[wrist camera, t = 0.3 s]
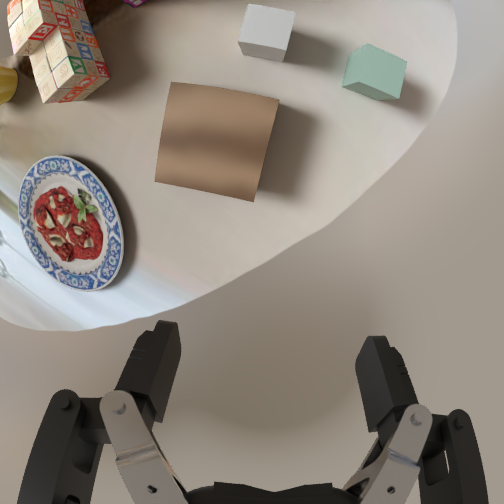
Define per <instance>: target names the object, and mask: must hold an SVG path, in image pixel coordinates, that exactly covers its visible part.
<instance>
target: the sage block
mask: <svg viewBox="0 0 504 504" xmlns="http://www.w3.org/2000/svg"><path fill="white" fill-rule="evenodd" d="M406 65H407V61H405V60H403V59H401V58H399V57H397V56H395V55H393V54H391V53H388V52H386V51H384V50H382V49H380V48H377V47H375V46H373V45H370V44H368V43H367V44H365V45H364V46H362V47H361V48H359V49H357V50H356V51H354V52H353V53H351V54H350V55H349V59H348V63H347V67H346V71H345V76H344V80H343V84H342V87H344V88H346V89H349V90H352V91H355V92H357V93H360V94H362V95H365V96H368V97H370V98H372V99H375V100H386V99H399V97H400V93H401V89H402V84H403V79H404V75H405V70H406Z"/></svg>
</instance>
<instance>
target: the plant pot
mask: <svg viewBox="0 0 504 504" xmlns="http://www.w3.org/2000/svg"><path fill="white" fill-rule="evenodd" d="M17 83H18V75H17V72H16V71H15V70H14V69H10V68H5V67H0V105H1V104H3V103H5V102H8V101H9V100H10V99H11V98H12V97H13V95H14V93H15V91H16V88H17Z"/></svg>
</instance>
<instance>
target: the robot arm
mask: <svg viewBox="0 0 504 504" xmlns="http://www.w3.org/2000/svg"><path fill="white" fill-rule="evenodd" d="M180 357H181V342H180V337H179V330H178V325H177V323H176V322H169V321H163V320H159V321H158V322H157V324H156V326H155V329H154V331H148V330H146V331H145V332H144V333H143V334H142V335H141V336H139V337H138V339H137V341H136V343H135V345H134V347H133V350H132V352H131V354H130V357H129V358H128V360H127V363H126V365H125V367H124V369H123V372H122V374H121V377H120V379H119V381H118V384H117V386H116V388H115V389H114V391H111V392H108V393H107V394H105V395H104V397H101V398H79V397H78V395H77V394H76V393H75V392H73V391H71V390H68V389H67V390H66V389H64V390H60V391H58V392H56V393H55V394H54V395H53V397H52V399H51V401H50V403H49V405H48V408H47V410H46V413H45V415H44V417H43V420H42V423H41V425H40V428H39V430H38V433H37V436H36V439H35V441H34V444H33V447H32V450H31V453H30V456H29V459H28V463H27V466H26V469H25V473H24V476H23V480H22V484H21V488H20V492H19V497H18V501H17V504H90V501H91V495H92V491H93V486H94V482H95V477H96V473H97V469H98V464H99V461H100V457H101V453H102V449H103V445H104V444H112V446H113V448H114V451H115V453H116V456H117V459H116V464H117V467H118V470H119V472H120V474H121V476H122V479H123V481H124V483H125V485H126V487H127V489H128V491H129V493H130V495H131V497H132V499H133V501H134V502H135V504H404V503H405V501H406V499H407V497H408V496H409V494H410V492H411V489H412V488H413V485H414V483H415V481H416V479H417V477H418V480H419V488H420V499H421V504H489V502H488V495H487V487H486V481H485V475H484V470H483V465H482V461H481V456H480V452H479V448H478V444H477V440H476V436H475V433H474V429H473V426H472V423H471V419H470V417H469V415H468V414H467V413H466V412H465V411H463V410H461V409H456V410H454V411H452V412H451V413H450V414H449V415H448V416H446V415H437V414H431V412H430V411H429V409H427V408H426V407H425V406H423V405H421V404H419V403H418V400H417V397H416V394H415V391H414V388H413V386H412V383H411V380H410V377H409V375H408V371H407V369H406V367H405V363H404V361H403V358H402V356H401V354H400V353H399V352H398V351H397V350H396V349H395V347H390V345H389V342H388V340H387V338H386V337H385V336H368V337H367V339H366V340H365V342H364V345H363V347H362V349H361V351H360V353H359V355H358V357H357V359H356V363H355V369H356V375H357V379H358V383H359V388H360V392H361V397H362V401H363V405H364V411H365V416H366V421H367V426H368V431H369V432H376V431H378V437H377V438H376V440H375V442H374V444H373V445H372V447H371V449H370V451H369V453H368V454H367V456H366V458H365V459H364V461H363V462H362V464H361V466H360V467H359V469H358V470H357V472H356V473H355V474H354V475H353V476H352V477H351V478H350V479H349V481H348V482H347V483H346V484H345V485H344V487H343V488H342V489H338V488H334V487H332V483H324V484H313V485H303V486H299V487H295V488H291V489H287V490H283V491H278V492H271V491H267V490H263V489H259V488H255V487H251V486H248V485H244V484H232V483H223V482H214V485H213V486H206V487H201V488H198V489H194V490H192V491H189V492H187V490H186V489H185V487H184V486H183V484H182V483H181V481H180V479H179V478H178V476H177V475H176V473H175V472H174V470H173V469H172V467H171V465H170V464H169V462H168V460H167V459H166V457H165V455H164V453H163V451H162V449H161V447H160V446H159V444H158V442H157V440H156V438H155V436H154V434H153V432H152V427H153V423H154V421H156V422H160V423H162V421H163V417H164V414H165V410H166V406H167V403H168V399H169V396H170V392H171V389H172V385H173V381H174V378H175V375H176V371H177V368H178V365H179V361H180ZM445 450H446V454H447V459H448V465H449V474H448V468H447V463H446V458H445V452H444V451H445Z"/></svg>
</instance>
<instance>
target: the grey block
mask: <svg viewBox="0 0 504 504" xmlns="http://www.w3.org/2000/svg"><path fill="white" fill-rule="evenodd" d="M295 15H296V12H292V11H288V10H283V9H278V8H273V7H267V6H261V5H255V4H248V6H247V9H246V13H245V16H244V20H243V23H242V27H241V30H240V34H239V38H238V43H239V46H240V48H241V51H242V53H243V55H248V56H254V57H259V58H264V59H269V60H274V61H278V62H283V59H284V56H285V53H286V50H287V46H288V42H289V38H290V34H291V30H292V26H293V22H294V19H295Z"/></svg>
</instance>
